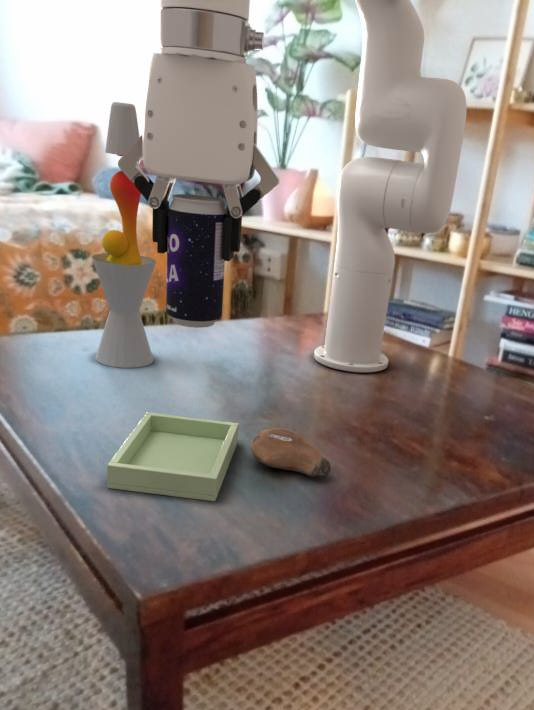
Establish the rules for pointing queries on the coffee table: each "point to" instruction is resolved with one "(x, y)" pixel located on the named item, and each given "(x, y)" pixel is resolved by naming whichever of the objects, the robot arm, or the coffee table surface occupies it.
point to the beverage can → (195, 260)
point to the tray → (174, 457)
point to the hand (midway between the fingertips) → (196, 253)
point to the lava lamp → (123, 258)
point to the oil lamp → (289, 452)
